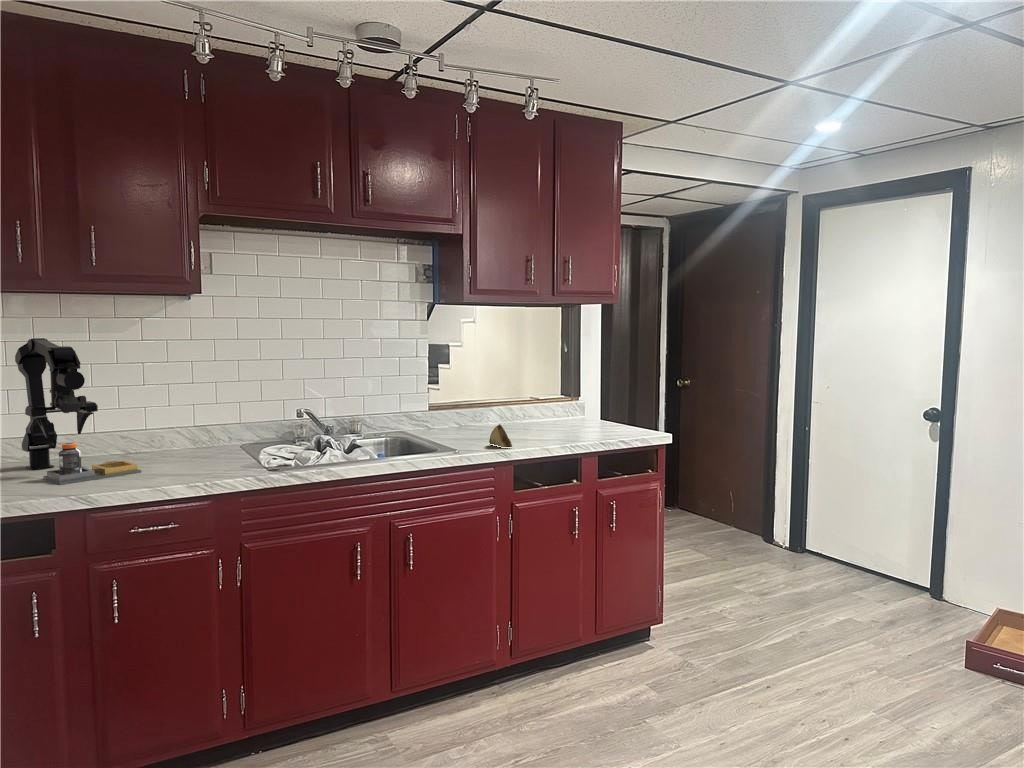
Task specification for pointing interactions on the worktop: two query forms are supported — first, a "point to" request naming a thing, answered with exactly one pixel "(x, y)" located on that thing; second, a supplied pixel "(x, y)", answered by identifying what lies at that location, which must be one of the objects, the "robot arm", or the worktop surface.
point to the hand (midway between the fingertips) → (63, 435)
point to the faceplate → (93, 472)
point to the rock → (500, 437)
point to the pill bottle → (70, 459)
